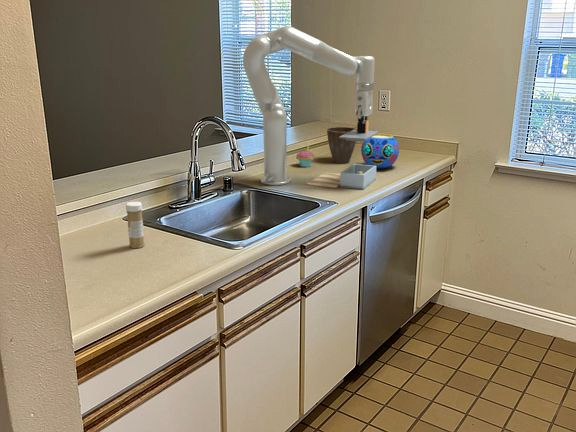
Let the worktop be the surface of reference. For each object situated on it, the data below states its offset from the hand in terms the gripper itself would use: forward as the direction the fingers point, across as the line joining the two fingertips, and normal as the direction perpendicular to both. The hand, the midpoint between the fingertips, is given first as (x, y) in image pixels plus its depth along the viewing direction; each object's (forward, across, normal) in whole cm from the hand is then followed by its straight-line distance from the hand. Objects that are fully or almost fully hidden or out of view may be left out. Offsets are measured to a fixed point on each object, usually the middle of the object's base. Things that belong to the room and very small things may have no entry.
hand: (362, 131), depth 247 cm
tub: (+21, -4, 0) cm, 21 cm away
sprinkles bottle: (+22, -103, +38) cm, 112 cm away
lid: (+1, -4, 0) cm, 4 cm away
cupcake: (+21, +17, +33) cm, 43 cm away
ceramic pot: (+21, +28, 0) cm, 35 cm away
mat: (+21, -4, +12) cm, 25 cm away
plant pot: (+21, +32, +20) cm, 43 cm away
